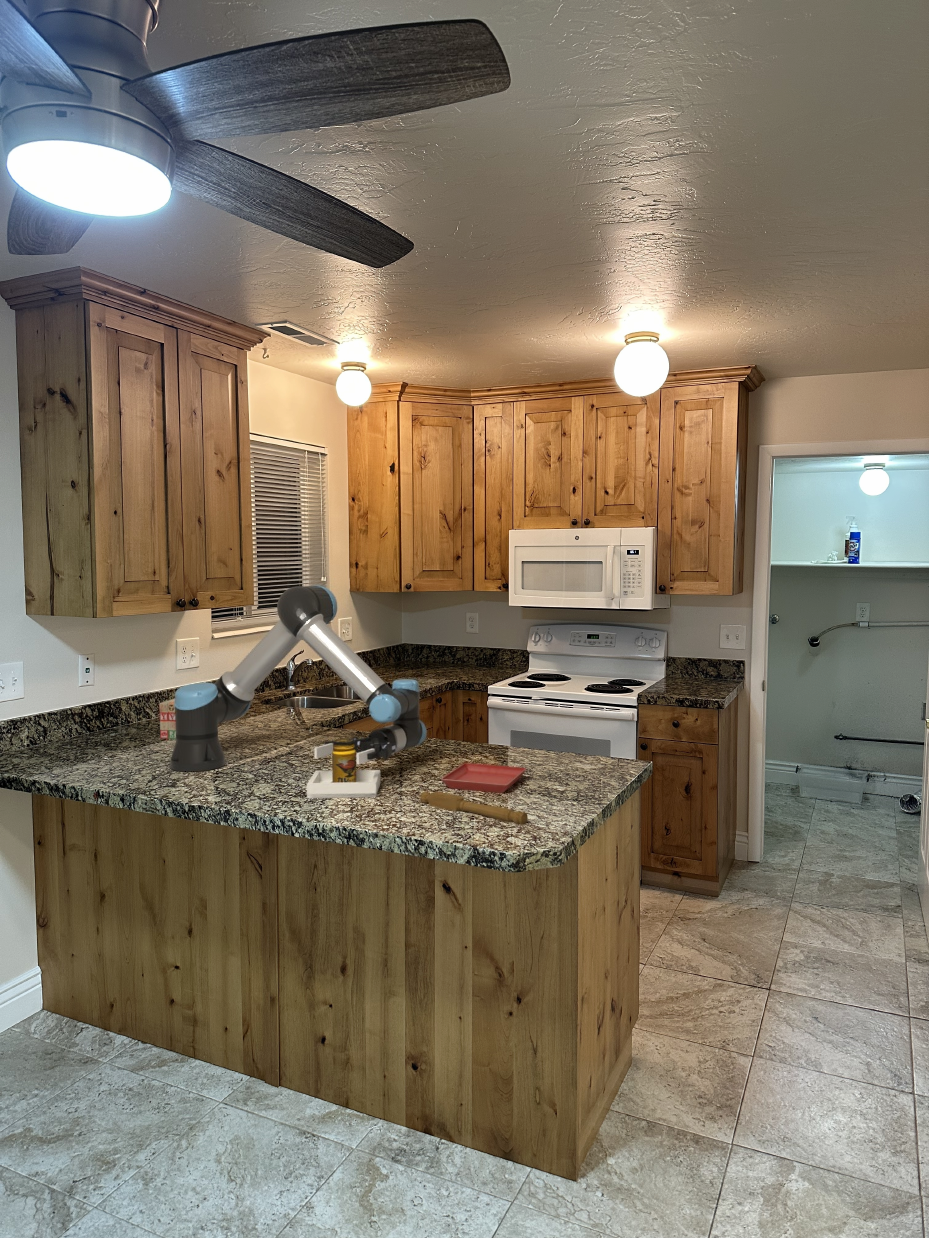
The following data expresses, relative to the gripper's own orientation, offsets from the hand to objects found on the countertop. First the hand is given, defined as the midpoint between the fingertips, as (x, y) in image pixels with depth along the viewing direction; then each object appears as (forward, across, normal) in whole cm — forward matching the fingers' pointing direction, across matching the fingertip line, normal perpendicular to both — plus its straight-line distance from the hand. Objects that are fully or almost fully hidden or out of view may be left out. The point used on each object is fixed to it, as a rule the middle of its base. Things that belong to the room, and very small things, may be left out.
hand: (336, 756), depth 209 cm
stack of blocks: (-37, +98, -10) cm, 106 cm away
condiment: (-3, +1, -9) cm, 9 cm away
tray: (-3, 0, -10) cm, 10 cm away
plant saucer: (-27, -28, -10) cm, 40 cm away
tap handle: (-2, -38, -10) cm, 39 cm away
